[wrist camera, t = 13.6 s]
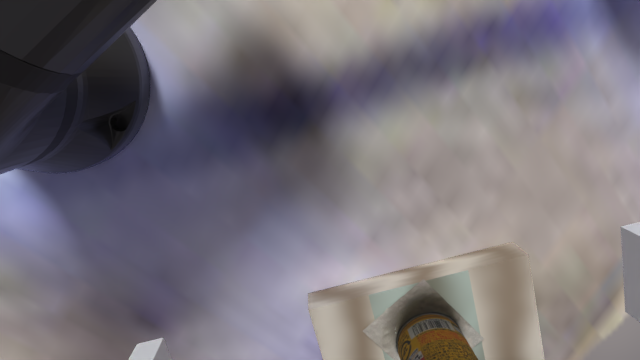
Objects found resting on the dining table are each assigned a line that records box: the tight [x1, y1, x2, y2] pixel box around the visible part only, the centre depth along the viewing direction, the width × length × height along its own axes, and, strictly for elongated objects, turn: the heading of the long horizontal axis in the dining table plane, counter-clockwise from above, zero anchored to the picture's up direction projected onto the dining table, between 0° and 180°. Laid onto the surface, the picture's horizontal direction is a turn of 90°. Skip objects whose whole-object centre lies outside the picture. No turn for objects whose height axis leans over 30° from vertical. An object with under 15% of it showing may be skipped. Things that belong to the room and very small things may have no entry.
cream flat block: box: [308, 242, 544, 360], centre depth 40 cm, size 20×12×6 cm, turn 104°
